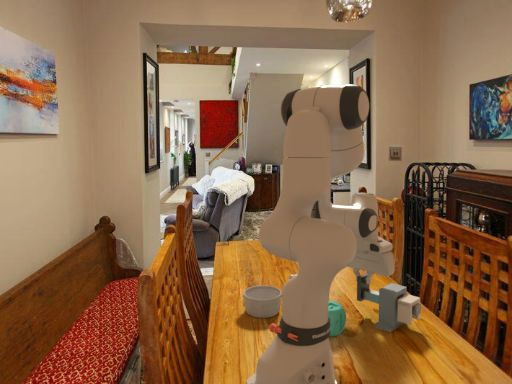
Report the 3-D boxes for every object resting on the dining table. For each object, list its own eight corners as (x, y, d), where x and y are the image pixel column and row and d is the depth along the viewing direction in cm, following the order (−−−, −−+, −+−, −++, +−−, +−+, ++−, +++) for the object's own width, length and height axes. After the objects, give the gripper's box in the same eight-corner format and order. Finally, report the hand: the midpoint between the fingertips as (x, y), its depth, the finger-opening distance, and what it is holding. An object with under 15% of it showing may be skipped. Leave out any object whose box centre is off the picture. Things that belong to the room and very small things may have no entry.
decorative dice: (333, 339, 110) (333, 313, 109) (309, 331, 115) (309, 306, 114) (346, 329, 116) (346, 304, 115) (323, 322, 121) (323, 298, 120)
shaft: (414, 319, 111) (415, 292, 110) (356, 300, 125) (357, 276, 124) (422, 313, 114) (423, 288, 113) (365, 296, 129) (365, 273, 128)
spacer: (410, 325, 111) (410, 303, 111) (397, 320, 114) (397, 299, 114) (419, 318, 115) (420, 297, 115) (407, 314, 118) (407, 294, 118)
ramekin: (279, 321, 122) (278, 300, 122) (239, 318, 125) (238, 298, 124) (284, 305, 135) (284, 286, 134) (248, 302, 138) (247, 284, 137)
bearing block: (389, 332, 113) (390, 295, 112) (374, 327, 117) (375, 291, 116) (409, 320, 121) (410, 285, 120) (394, 315, 125) (395, 281, 124)
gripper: (332, 238, 130) (331, 277, 131) (386, 249, 115) (386, 293, 116) (343, 235, 134) (342, 273, 136) (397, 245, 119) (396, 288, 120)
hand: (363, 282), depth 126 cm, fingers closed on shaft, 2 cm apart
